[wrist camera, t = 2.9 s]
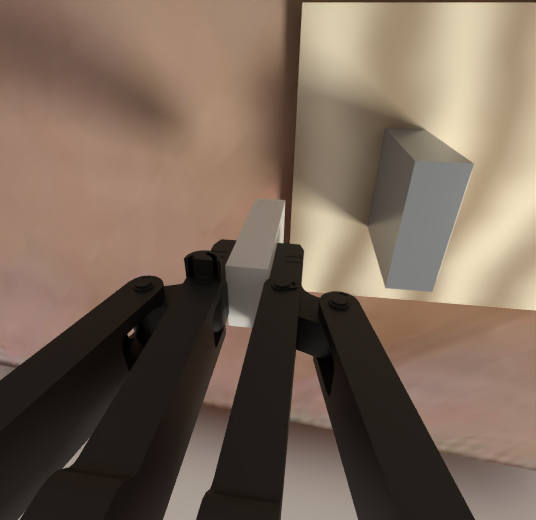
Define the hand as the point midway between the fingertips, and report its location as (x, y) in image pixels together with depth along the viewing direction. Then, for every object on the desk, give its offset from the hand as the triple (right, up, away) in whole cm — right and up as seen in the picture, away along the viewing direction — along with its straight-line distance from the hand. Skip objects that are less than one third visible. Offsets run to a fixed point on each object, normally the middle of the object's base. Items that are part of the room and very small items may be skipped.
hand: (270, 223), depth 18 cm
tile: (+9, +4, +6) cm, 11 cm away
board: (+14, +4, +6) cm, 16 cm away
